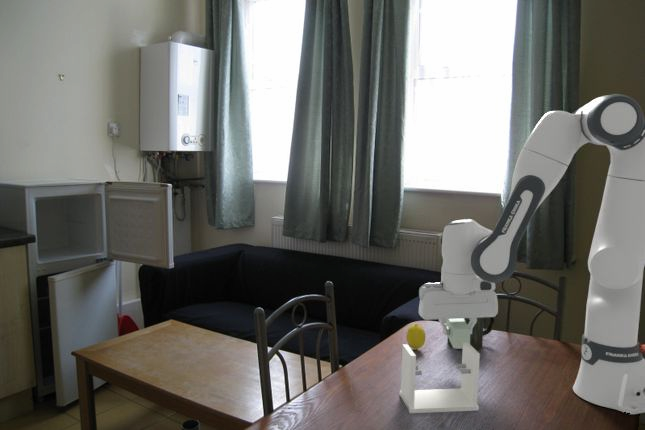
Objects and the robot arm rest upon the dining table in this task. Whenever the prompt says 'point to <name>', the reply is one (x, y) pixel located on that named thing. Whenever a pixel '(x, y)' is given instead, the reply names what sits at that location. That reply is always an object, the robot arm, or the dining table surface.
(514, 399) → the dining table surface
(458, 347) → the shelf board
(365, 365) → the dining table surface
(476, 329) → the mug
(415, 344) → the lemon
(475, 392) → the shelf unit
